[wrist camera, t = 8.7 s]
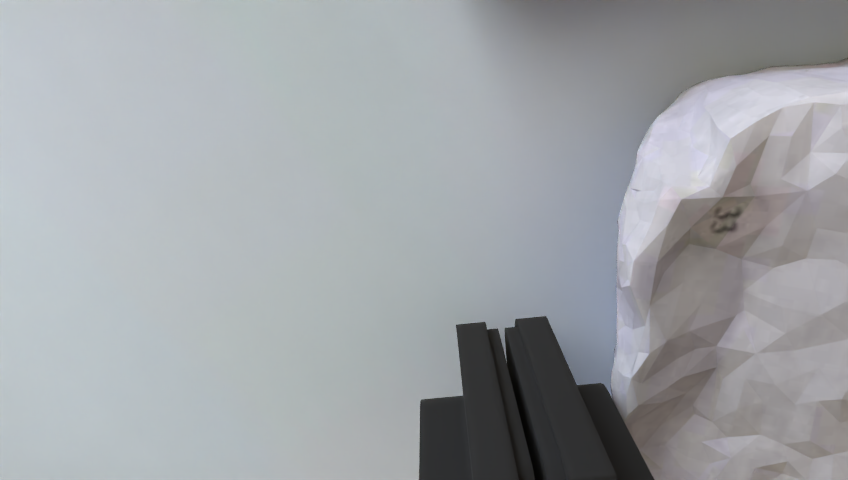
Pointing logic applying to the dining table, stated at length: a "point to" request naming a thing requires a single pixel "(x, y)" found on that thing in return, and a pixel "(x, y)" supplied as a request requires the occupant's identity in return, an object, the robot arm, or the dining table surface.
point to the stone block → (739, 281)
